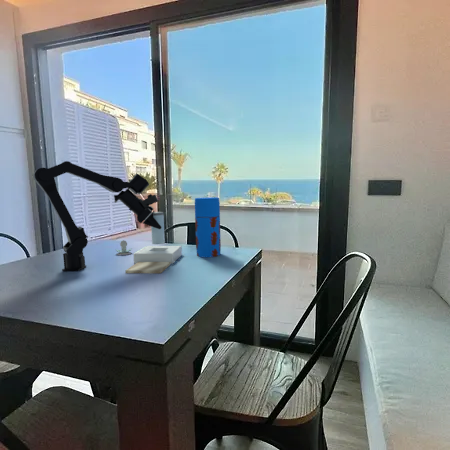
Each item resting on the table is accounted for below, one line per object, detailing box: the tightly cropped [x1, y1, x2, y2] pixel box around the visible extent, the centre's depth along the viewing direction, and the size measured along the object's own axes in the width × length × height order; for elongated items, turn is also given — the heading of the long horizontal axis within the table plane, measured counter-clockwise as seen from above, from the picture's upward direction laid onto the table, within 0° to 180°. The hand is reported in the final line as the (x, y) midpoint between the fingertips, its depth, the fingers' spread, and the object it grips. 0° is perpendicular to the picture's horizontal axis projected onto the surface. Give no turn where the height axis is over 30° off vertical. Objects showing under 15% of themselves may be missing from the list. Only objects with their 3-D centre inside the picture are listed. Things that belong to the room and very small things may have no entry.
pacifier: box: [115, 240, 133, 256], centre depth 150 cm, size 7×6×6 cm
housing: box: [133, 245, 183, 264], centre depth 138 cm, size 16×16×4 cm
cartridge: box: [150, 211, 166, 245], centre depth 137 cm, size 5×5×13 cm
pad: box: [125, 262, 172, 274], centre depth 123 cm, size 13×13×1 cm
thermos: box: [194, 196, 222, 258], centre depth 143 cm, size 11×11×25 cm
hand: (161, 227), depth 137 cm, fingers closed on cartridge, 5 cm apart
